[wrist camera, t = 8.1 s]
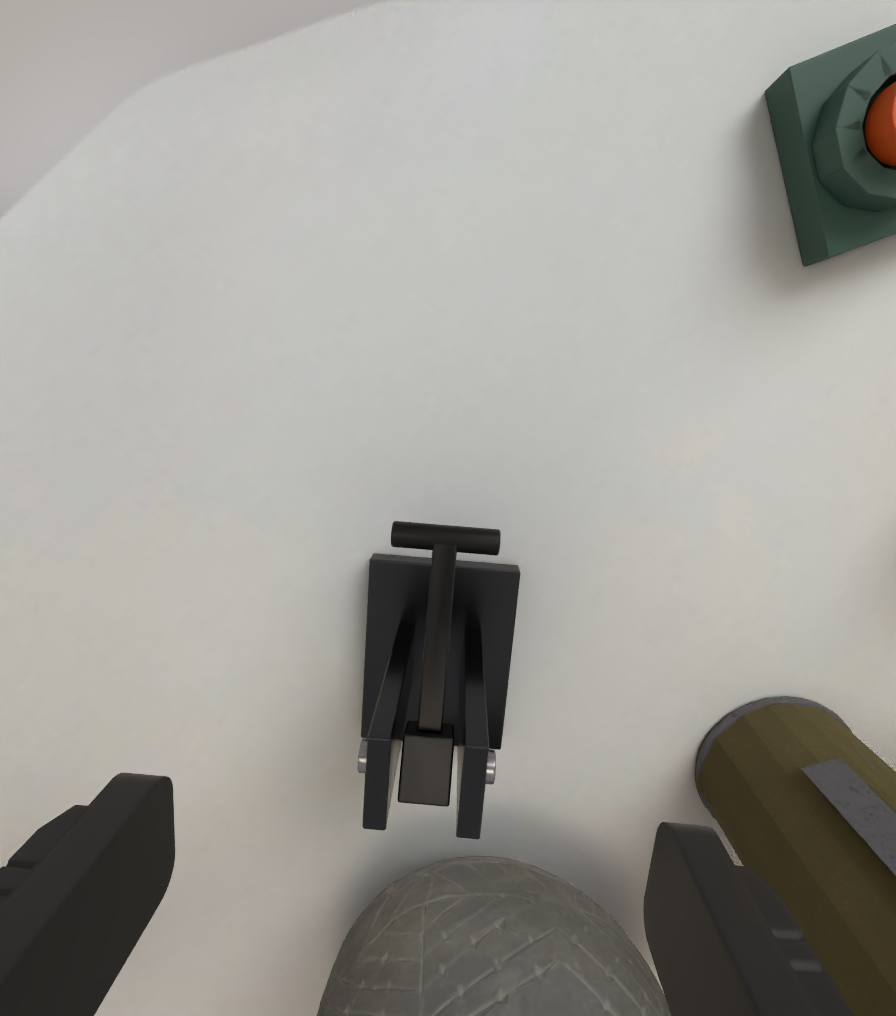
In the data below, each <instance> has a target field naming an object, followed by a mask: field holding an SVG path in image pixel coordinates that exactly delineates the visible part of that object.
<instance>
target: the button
mask: <svg viewBox="0 0 896 1016" xmlns="http://www.w3.org/2000/svg"><path fill="white" fill-rule="evenodd" d="M865 139H866V143H867V146H868V148H869V150H870V152H871V153H872V154H873V156H874V157H875V158H876V159H877V160H879V161H880V162H882V163H884V164H886V165H889V166H896V82H894V83H893V84H891V85H890V86H888V87H887V88H886V89H885V90H883V91H882V92H881V93H880V94H879V96H878V97H877V98H876V99H875V101H874V102H873V104H872V106H871V108H870V110H869V112H868V115H867V118H866V123H865Z"/></svg>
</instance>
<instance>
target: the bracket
mask: <svg viewBox="0 0 896 1016" xmlns="http://www.w3.org/2000/svg"><path fill="white" fill-rule="evenodd" d="M431 563H432V558H422V557H410V556H398V555H386V554H373V555H372V557H371V559H370V566H369V586H368V606H367V626H366V646H365V666H364V686H363V706H362V727H361V737H362V738H367V739H362V741H361V745H360V750H359V756H358V772H359V773H365V788H364V808H363V828H364V829H375V830H385V829H386V825H387V819H388V814H389V808H390V802H391V797H392V791H393V786H394V780H395V775H396V769H397V763H398V758H399V752H400V747H401V741H403V735H404V732H405V728H406V725H407V722H408V721H409V720H411V721H418V715H419V703H420V691H421V680H422V668H423V656H424V645H425V633H426V622H427V610H428V598H429V587H430V575H431ZM519 580H520V570H519V567H518V566H517V565H507V564H495V563H483V562H471V561H459V560H456V565H455V577H454V590H453V602H452V614H451V627H450V639H449V651H448V664H447V676H446V689H445V701H444V713H443V723H446V724H453V725H454V746H458V767H457V819H456V836H457V837H460V838H471V839H479V838H480V830H481V821H482V811H483V802H484V792H485V784H494V780H495V769H496V754H495V750H489V749H499V750H500V749H501V743H502V734H503V725H504V716H505V706H506V697H507V688H508V679H509V670H510V661H511V652H512V643H513V634H514V625H515V616H516V607H517V598H518V589H519Z"/></svg>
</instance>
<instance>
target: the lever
mask: <svg viewBox="0 0 896 1016" xmlns="http://www.w3.org/2000/svg"><path fill="white" fill-rule="evenodd" d="M391 545H392V546H393V547H402V548H414V549H426V550H433V552H432V563H431V575H430V587H429V598H428V610H427V622H426V633H425V645H424V656H423V668H422V680H421V691H420V703H419V715H418V721H411V720H409V721H408V722H407V725H406V728H405V732H404V735H403V745H402V756H401V767H400V779H399V790H398V802H402V803H413V804H424V805H436V806H449V802H450V789H451V776H452V763H453V751H454V725H453V724H446V723H443V713H444V701H445V689H446V676H447V664H448V651H449V639H450V627H451V614H452V602H453V590H454V577H455V565H456V553H457V552H462V553H474V554H486V555H498V554H499V549H500V530H496V529H484V528H472V527H460V526H448V525H436V524H424V523H412V522H399V521H394V522H393V525H392V532H391Z"/></svg>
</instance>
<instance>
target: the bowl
mask: <svg viewBox="0 0 896 1016" xmlns="http://www.w3.org/2000/svg"><path fill="white" fill-rule="evenodd" d="M317 1016H671V1013H670V1010H669V1007H668V1003H667V1000H666V998H665V996H664V994H663V991H662V989H661V987H660V986H659V984H658V982H657V980H656V978H655V976H654V974H653V973H652V971H651V969H650V967H649V966H648V964H647V963H646V961H645V959H644V958H643V956H642V955H641V953H640V952H639V951H638V950H637V948H636V947H635V946H634V945H633V943H632V942H631V940H630V939H629V937H628V936H627V935H626V933H625V932H624V931H623V929H622V928H621V927H620V926H619V925H618V924H617V922H616V921H615V920H614V919H613V918H612V917H611V916H610V915H609V914H607V913H606V912H605V911H604V910H602V909H601V908H600V907H599V906H598V905H597V904H596V903H594V902H593V901H592V900H590V899H589V898H588V897H587V896H585V895H584V894H583V893H581V892H580V891H579V890H578V889H576V888H575V887H573V886H571V885H570V884H568V883H566V882H565V881H563V880H561V879H560V878H558V877H556V876H554V875H552V874H550V873H548V872H546V871H543V870H541V869H539V868H537V867H535V866H532V865H529V864H525V863H521V862H518V861H514V860H510V859H505V858H498V857H487V856H472V857H460V858H455V859H449V860H444V861H439V862H436V863H434V864H431V865H429V866H427V867H425V868H422V869H420V870H418V871H415V872H413V873H411V874H410V875H408V876H406V877H404V878H402V879H400V880H399V881H397V882H395V883H394V884H393V885H390V886H389V887H388V888H387V889H386V890H384V891H383V892H382V893H381V894H380V895H378V896H377V897H376V898H375V899H374V900H373V901H372V902H371V904H370V905H369V906H368V907H367V908H366V909H365V910H364V911H363V912H362V914H361V915H360V916H359V918H358V919H357V921H356V922H355V924H354V925H353V926H352V928H351V929H350V931H349V933H348V934H347V936H346V938H345V940H344V942H343V944H342V946H341V949H340V951H339V954H338V956H337V958H336V961H335V963H334V965H333V968H332V971H331V974H330V976H329V979H328V982H327V985H326V988H325V991H324V994H323V997H322V999H321V1002H320V1007H319V1010H318V1013H317Z"/></svg>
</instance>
